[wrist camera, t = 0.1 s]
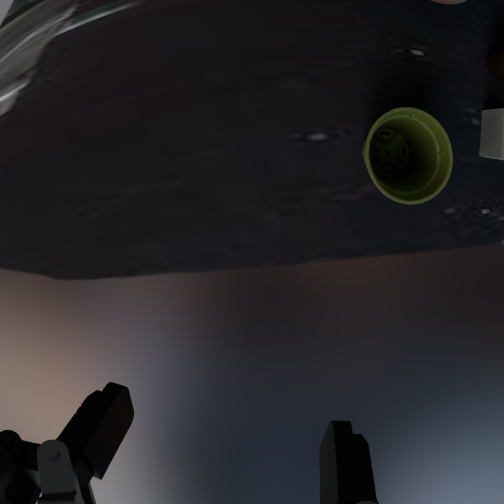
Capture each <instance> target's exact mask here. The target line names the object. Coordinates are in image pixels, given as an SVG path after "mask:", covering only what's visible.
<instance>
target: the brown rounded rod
mask: <svg viewBox="0 0 504 504" xmlns="http://www.w3.org/2000/svg"><path fill="white" fill-rule="evenodd" d="M486 63H487V67H488V70H489V72H490V73H491V75H492V76H493V77H494V78H496V79H497V80H504V50H501V51H499V52H496V53H493V54H491V55H489V56H488V57H487V60H486Z"/></svg>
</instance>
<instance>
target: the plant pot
mask: <svg viewBox="0 0 504 504" xmlns="http://www.w3.org/2000/svg"><path fill="white" fill-rule="evenodd" d="M381 132H389V133H390V135H382V134H381V135H379V134H380V133H381ZM403 147H405V152H406V155H405V157H403ZM386 150H388V151H389V154H388V155H387V154H386ZM369 154H370V157H369ZM363 158H364V161H365V163H366V165H367V168H368V171H369V174H370V176H371V178H372V180H373V182H374V183H375V185H376V186H377V187H378V189H379V190H380V191H381V192H382V193H384V194H385V195H386V196H387V197H389V198H390V199H392V200H394V201H396V202H399V203H403V204H419V203H422V202H426V201H428V200H430V199H431V198H433V197H434V196H436V195H437V194H438V193H439V192H440V191H441V190H442V189H443V188H444V186H445V185H446V183H447V181H448V179H449V176H450V173H451V169H452V163H453V156H452V148H451V144H450V141H449V138H448V136H447V134H446V132H445V130H444V129H443V127H442V126H441V125H440V124H439V122H438V121H437V120H436V119H435V118H433V117H432V116H431V115H429V114H428V113H426V112H424V111H422V110H419V109H416V108H411V107H401V108H396V109H393V110H391V111H389V112H387V113H385V114H384V115H382V116H381V117H380V118H379V119H378V120H377V121H376V122H375V123H374V125H373V126H372V128H371V130H370V132H369V134H368V136H367V138H366V139H365V141H364V144H363ZM383 170H387V171H389V170H393V172H392V173H383Z"/></svg>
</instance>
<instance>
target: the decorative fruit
mask: <svg viewBox="0 0 504 504" xmlns="http://www.w3.org/2000/svg"><path fill="white" fill-rule="evenodd" d="M431 1H434V2H437V3H441V4H459V3H462V2H464V1H466V0H431Z"/></svg>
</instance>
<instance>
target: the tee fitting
mask: <svg viewBox="0 0 504 504" xmlns="http://www.w3.org/2000/svg"><path fill="white" fill-rule="evenodd" d="M479 155H480V156H483V157H486V158H493V159H500V160H504V108H500V109H491V110H482V124H481V140H480V151H479Z"/></svg>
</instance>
